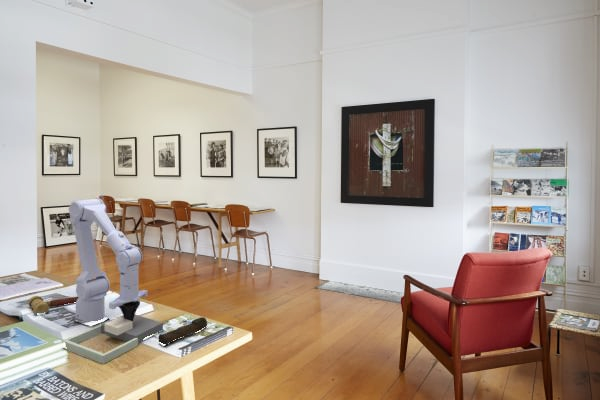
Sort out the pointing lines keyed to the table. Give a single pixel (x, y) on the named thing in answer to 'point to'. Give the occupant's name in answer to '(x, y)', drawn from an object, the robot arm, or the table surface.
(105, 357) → the box
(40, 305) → the gavel
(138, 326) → the charcoal board
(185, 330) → the dark brown rounded bar
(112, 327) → the tile
